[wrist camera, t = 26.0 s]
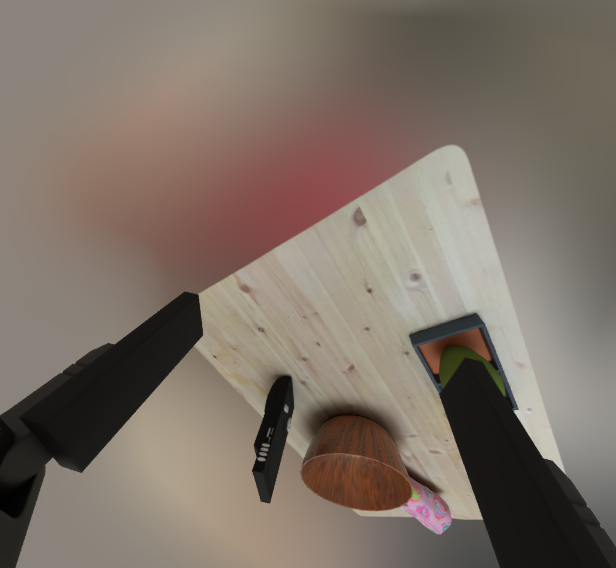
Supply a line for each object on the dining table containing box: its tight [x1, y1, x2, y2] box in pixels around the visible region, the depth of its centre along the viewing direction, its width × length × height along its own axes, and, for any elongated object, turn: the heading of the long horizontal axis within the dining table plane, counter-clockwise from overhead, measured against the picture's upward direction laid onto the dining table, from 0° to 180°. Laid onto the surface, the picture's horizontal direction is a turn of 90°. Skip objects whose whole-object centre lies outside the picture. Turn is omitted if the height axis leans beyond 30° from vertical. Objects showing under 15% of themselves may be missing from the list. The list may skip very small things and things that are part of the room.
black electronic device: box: [252, 377, 294, 503], centre depth 50 cm, size 12×5×20 cm, turn 2°
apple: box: [439, 345, 505, 396], centre depth 38 cm, size 9×8×12 cm
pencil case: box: [400, 477, 451, 534], centre depth 63 cm, size 21×9×9 cm, turn 50°
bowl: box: [300, 415, 413, 511], centre depth 56 cm, size 25×25×11 cm
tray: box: [409, 314, 519, 410], centre depth 44 cm, size 23×12×3 cm, turn 33°
